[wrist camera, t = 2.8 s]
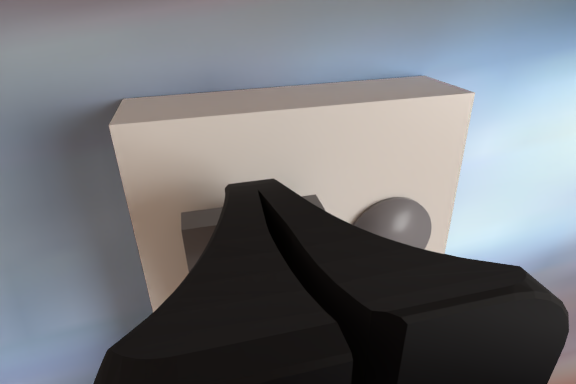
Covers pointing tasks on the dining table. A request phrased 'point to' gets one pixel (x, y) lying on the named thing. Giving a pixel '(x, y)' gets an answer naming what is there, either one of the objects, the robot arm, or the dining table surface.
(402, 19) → the dining table surface
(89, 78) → the dining table surface
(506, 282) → the robot arm
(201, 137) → the beige switch box
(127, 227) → the dining table surface
